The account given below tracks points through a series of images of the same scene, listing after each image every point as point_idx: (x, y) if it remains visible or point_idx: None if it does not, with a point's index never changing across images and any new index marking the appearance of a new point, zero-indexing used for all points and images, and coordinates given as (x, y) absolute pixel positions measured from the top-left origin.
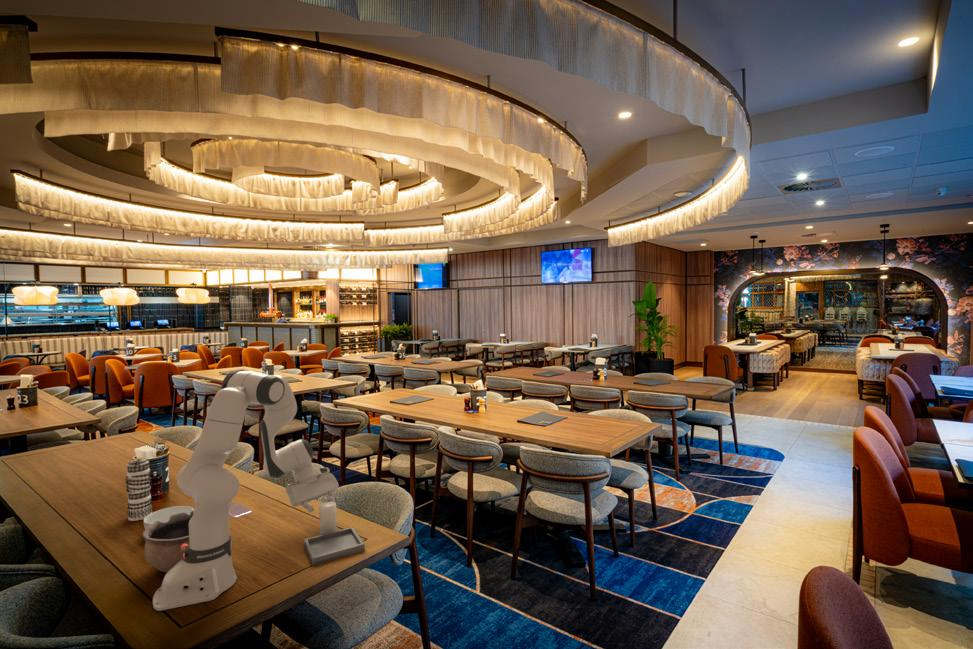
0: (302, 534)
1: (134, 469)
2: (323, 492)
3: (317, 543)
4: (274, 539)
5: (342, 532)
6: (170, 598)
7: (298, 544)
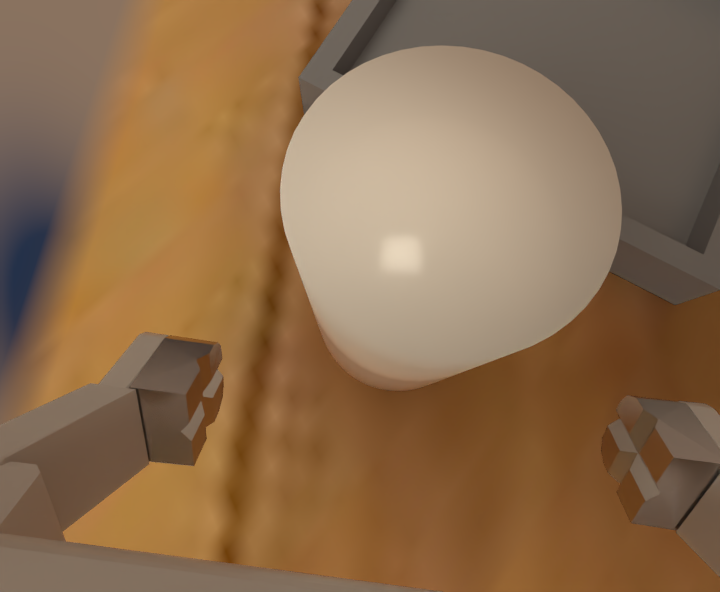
0: (558, 519)
1: None
2: (239, 576)
3: (623, 193)
4: None
5: None
6: None
7: (693, 378)
